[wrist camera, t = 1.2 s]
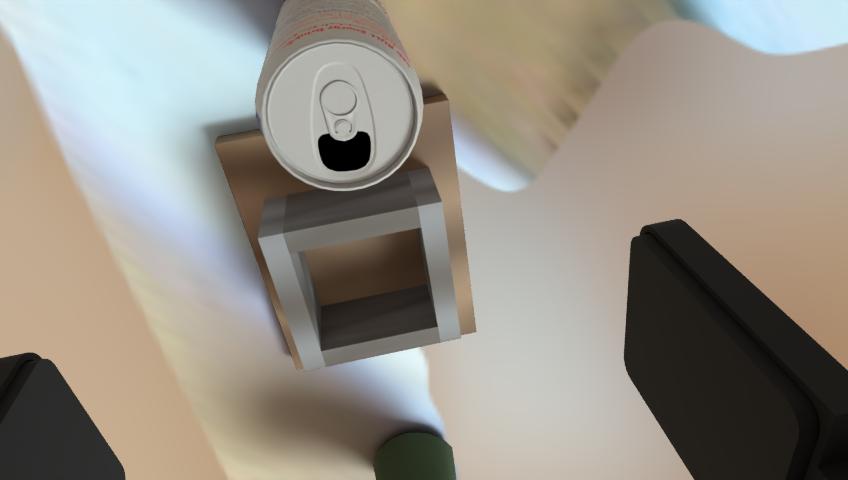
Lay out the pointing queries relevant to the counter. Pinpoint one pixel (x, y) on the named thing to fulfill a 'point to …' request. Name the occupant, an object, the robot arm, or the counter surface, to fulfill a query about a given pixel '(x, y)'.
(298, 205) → the can holder
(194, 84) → the counter surface
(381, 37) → the energy drink
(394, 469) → the character mug
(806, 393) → the robot arm
